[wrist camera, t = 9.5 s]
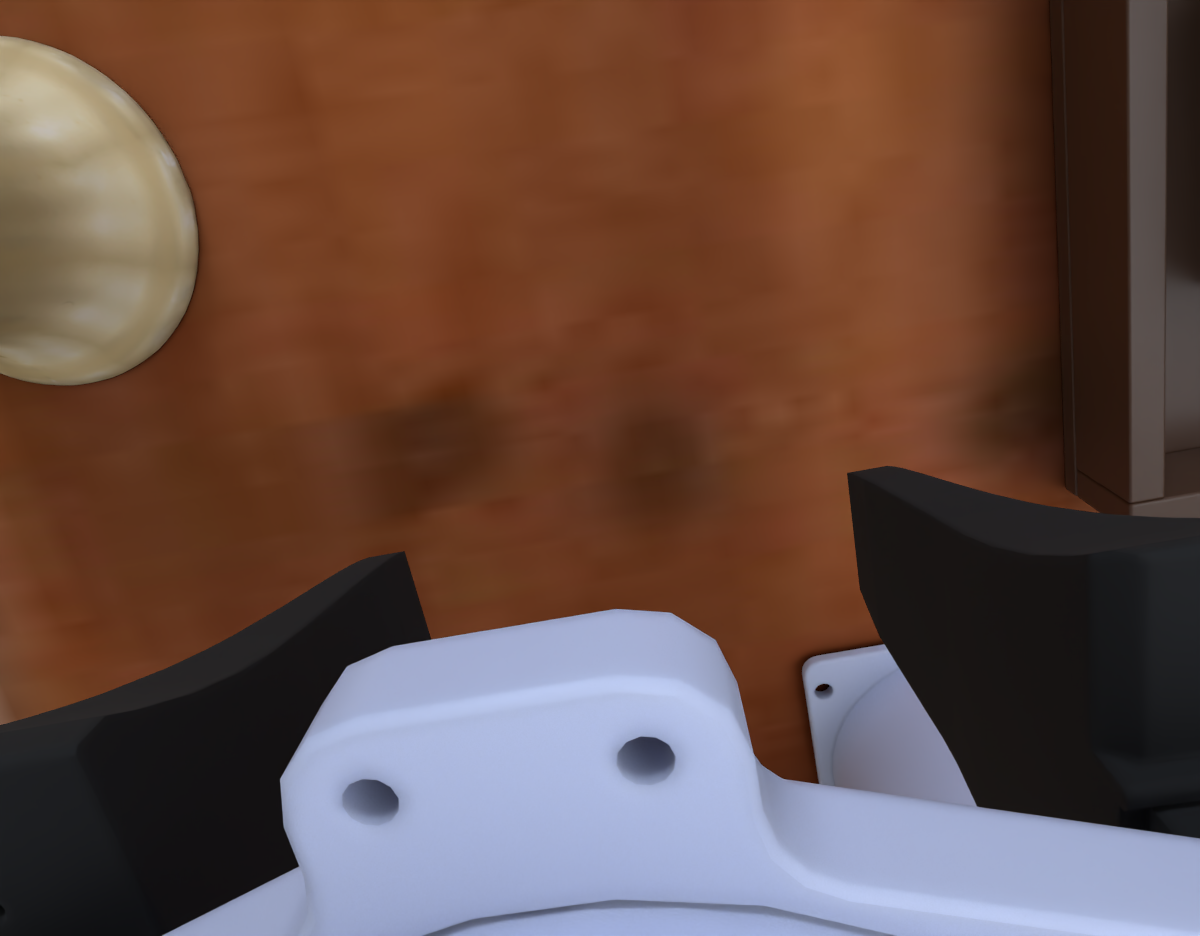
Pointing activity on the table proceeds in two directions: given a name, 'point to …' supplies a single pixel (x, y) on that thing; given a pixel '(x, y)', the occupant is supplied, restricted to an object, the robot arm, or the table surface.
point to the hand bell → (85, 223)
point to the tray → (1129, 251)
